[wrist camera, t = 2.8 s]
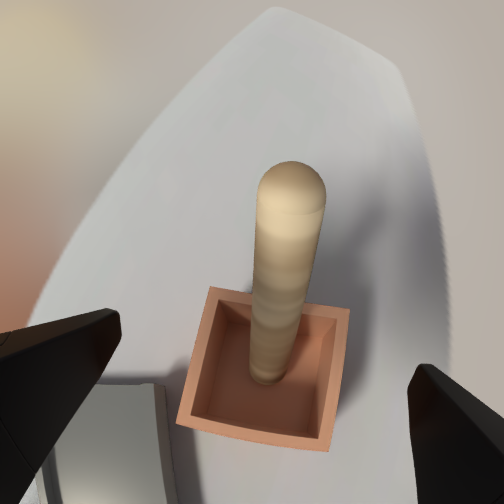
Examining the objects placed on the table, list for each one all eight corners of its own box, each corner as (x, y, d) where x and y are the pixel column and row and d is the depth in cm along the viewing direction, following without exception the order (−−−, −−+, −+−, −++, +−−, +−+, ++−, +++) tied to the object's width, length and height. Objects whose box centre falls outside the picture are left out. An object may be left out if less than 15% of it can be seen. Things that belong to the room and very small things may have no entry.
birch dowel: (282, 389, 17) (314, 347, 6) (246, 383, 18) (213, 328, 7) (298, 299, 20) (332, 152, 9) (265, 293, 20) (263, 143, 9)
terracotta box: (312, 440, 16) (328, 451, 12) (197, 419, 17) (175, 423, 13) (331, 332, 19) (349, 309, 15) (222, 314, 20) (210, 286, 16)
